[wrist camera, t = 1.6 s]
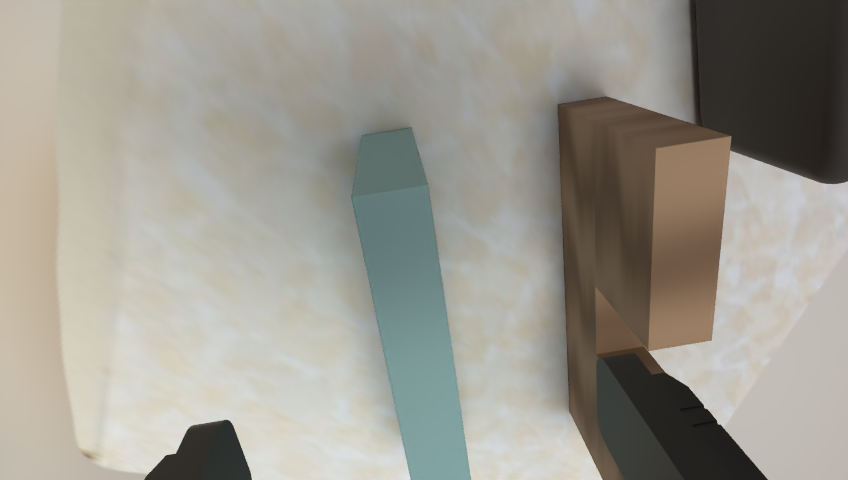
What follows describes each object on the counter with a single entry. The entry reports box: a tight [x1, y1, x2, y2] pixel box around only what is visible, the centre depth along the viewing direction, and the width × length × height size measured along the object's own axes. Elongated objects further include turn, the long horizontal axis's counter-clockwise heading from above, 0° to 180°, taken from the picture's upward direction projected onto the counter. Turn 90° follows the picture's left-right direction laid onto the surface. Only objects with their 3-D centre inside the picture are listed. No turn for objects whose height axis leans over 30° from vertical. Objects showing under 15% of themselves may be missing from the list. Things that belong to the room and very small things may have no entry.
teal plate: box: [351, 128, 471, 480], centre depth 25 cm, size 2×20×10 cm, turn 8°
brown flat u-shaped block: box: [558, 97, 731, 480], centre depth 25 cm, size 20×2×10 cm, turn 8°
